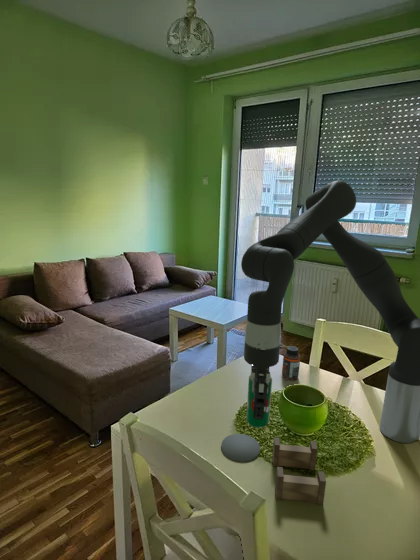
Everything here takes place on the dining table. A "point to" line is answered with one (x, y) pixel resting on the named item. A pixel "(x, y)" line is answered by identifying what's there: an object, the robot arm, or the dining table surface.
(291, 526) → the dining table surface
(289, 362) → the supplement bottle
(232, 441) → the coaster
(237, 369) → the dining table surface
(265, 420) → the soda can
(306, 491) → the channel
